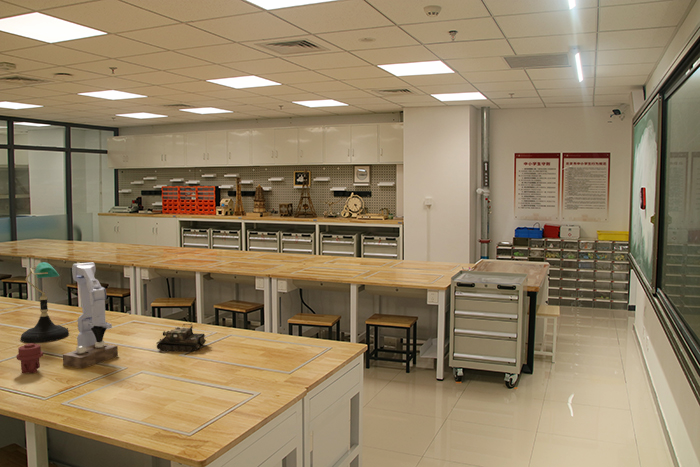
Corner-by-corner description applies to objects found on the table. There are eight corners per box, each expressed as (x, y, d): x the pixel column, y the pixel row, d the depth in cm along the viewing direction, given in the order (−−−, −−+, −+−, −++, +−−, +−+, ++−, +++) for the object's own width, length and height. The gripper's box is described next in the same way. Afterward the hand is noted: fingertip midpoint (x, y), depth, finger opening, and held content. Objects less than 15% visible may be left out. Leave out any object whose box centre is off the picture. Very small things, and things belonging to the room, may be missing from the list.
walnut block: (63, 365, 239) (62, 354, 238) (99, 352, 257) (99, 342, 256) (81, 368, 234) (81, 357, 233) (117, 356, 252) (117, 345, 252)
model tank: (166, 344, 273) (166, 316, 272) (208, 345, 271) (207, 316, 270) (155, 351, 260) (155, 322, 259) (199, 352, 259) (198, 322, 257)
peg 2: (93, 352, 249) (93, 342, 248) (100, 349, 252) (100, 340, 252) (99, 353, 247) (99, 343, 247) (106, 350, 251) (106, 340, 250)
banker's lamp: (71, 339, 280) (69, 265, 277) (21, 346, 267) (17, 269, 264) (66, 328, 302) (63, 260, 299) (19, 334, 289) (16, 263, 286)
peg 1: (74, 357, 239) (74, 347, 239) (82, 355, 243) (82, 345, 243) (80, 358, 238) (80, 348, 237) (88, 356, 242) (88, 346, 241)
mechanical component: (32, 366, 236) (49, 369, 233) (11, 374, 227) (28, 376, 223) (31, 340, 235) (47, 342, 232) (10, 346, 226) (27, 348, 222)
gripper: (80, 314, 247) (81, 342, 249) (102, 316, 242) (103, 345, 243) (93, 310, 254) (94, 338, 255) (114, 313, 248) (115, 341, 249)
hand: (99, 341), depth 249 cm, fingers closed, pressing on peg 2
